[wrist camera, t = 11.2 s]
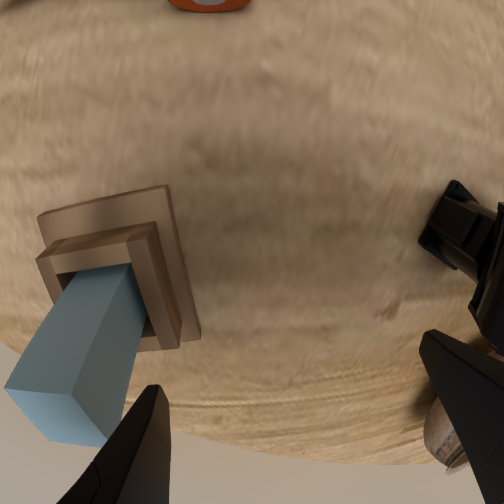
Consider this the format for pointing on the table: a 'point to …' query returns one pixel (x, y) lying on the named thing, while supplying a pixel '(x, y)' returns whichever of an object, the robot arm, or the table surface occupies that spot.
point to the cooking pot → (446, 436)
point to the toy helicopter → (209, 5)
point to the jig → (125, 257)
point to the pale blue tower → (82, 358)
